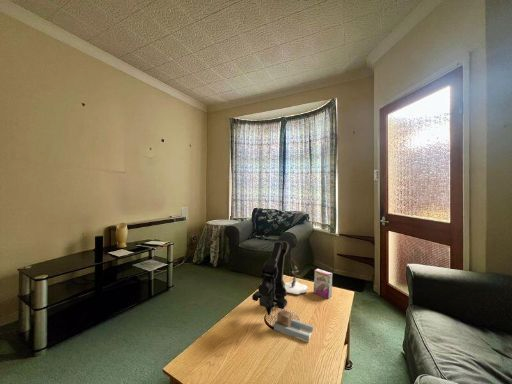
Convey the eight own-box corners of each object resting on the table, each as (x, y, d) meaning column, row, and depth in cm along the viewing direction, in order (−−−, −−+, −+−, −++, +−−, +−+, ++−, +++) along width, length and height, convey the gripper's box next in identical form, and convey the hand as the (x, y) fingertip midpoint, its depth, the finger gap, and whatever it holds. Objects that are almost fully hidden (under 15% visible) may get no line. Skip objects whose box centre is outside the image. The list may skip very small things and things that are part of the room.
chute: (274, 329, 111) (274, 324, 111) (280, 320, 119) (280, 315, 119) (308, 342, 103) (308, 336, 103) (312, 331, 111) (312, 326, 110)
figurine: (301, 298, 142) (303, 273, 142) (277, 290, 152) (278, 267, 152) (311, 288, 158) (312, 266, 159) (289, 282, 168) (290, 261, 169)
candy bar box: (313, 293, 150) (314, 270, 149) (316, 290, 153) (317, 268, 153) (328, 299, 142) (329, 275, 142) (331, 296, 146) (332, 272, 145)
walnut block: (277, 327, 113) (277, 314, 112) (280, 321, 117) (281, 309, 117) (288, 331, 110) (288, 317, 109) (291, 325, 114) (291, 312, 114)
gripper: (247, 288, 114) (246, 317, 115) (280, 298, 105) (279, 329, 106) (257, 280, 124) (256, 307, 125) (287, 288, 115) (287, 317, 116)
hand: (269, 314), depth 117 cm, fingers closed
